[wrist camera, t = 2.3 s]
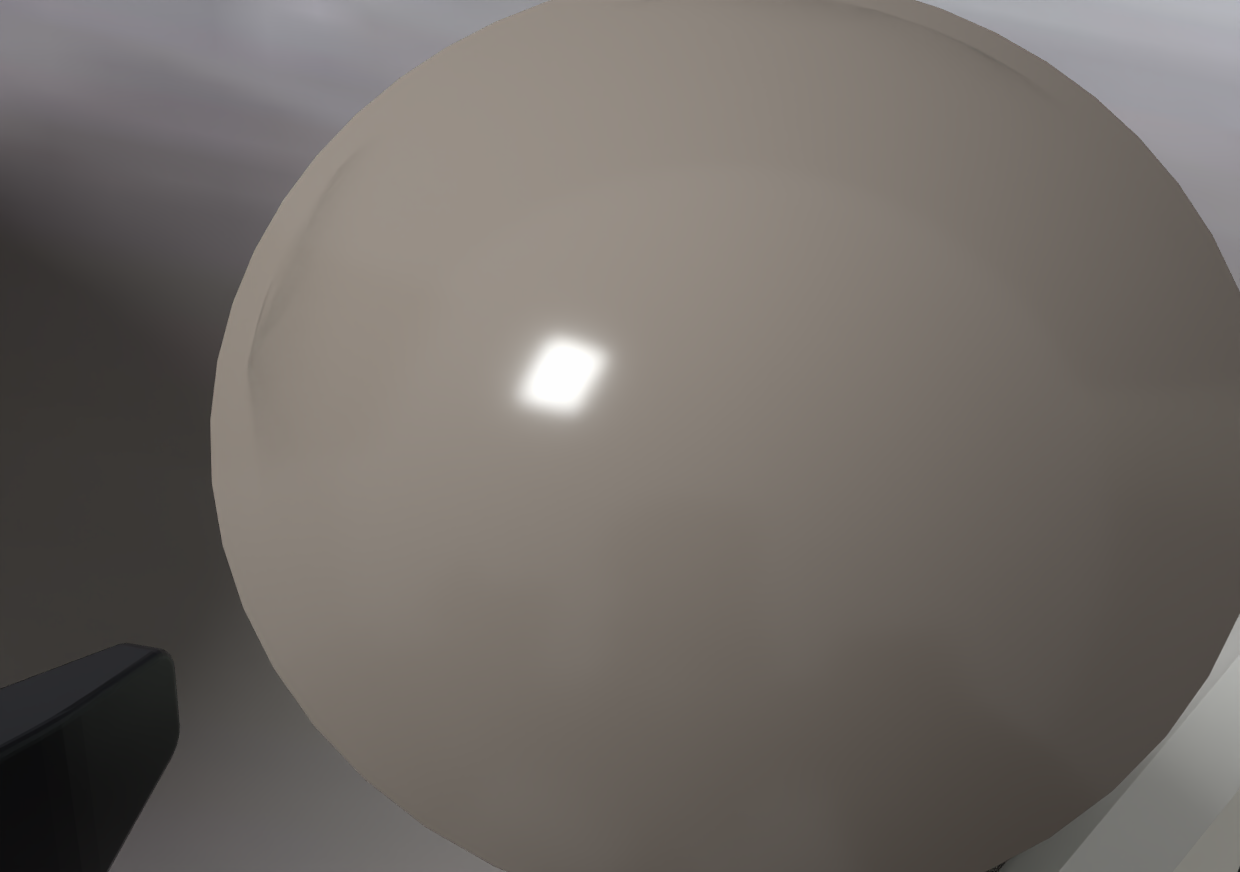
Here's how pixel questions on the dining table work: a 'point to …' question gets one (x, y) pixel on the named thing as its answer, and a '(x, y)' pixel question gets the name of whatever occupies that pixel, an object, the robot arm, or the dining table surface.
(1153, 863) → the tray
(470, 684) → the sage jar
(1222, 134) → the dining table surface
